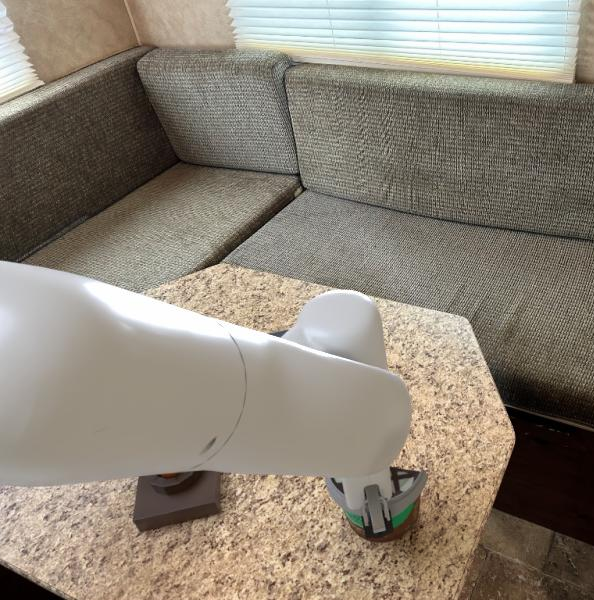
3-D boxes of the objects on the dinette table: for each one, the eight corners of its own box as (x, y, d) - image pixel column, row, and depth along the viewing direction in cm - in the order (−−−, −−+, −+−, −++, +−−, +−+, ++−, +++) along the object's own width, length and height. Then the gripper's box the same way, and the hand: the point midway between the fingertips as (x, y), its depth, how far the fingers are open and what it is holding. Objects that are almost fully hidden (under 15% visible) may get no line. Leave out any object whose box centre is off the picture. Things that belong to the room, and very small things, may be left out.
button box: (220, 513, 77) (210, 493, 74) (140, 532, 76) (127, 513, 73) (221, 438, 86) (212, 418, 83) (149, 454, 85) (138, 434, 82)
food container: (321, 541, 73) (306, 497, 67) (336, 496, 78) (324, 450, 71) (420, 561, 70) (415, 516, 64) (431, 513, 75) (427, 467, 68)
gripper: (307, 350, 66) (331, 448, 77) (327, 488, 52) (353, 582, 64) (375, 336, 66) (389, 435, 78) (411, 468, 53) (422, 564, 65)
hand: (372, 501), depth 71 cm, fingers closed on food container, 7 cm apart
